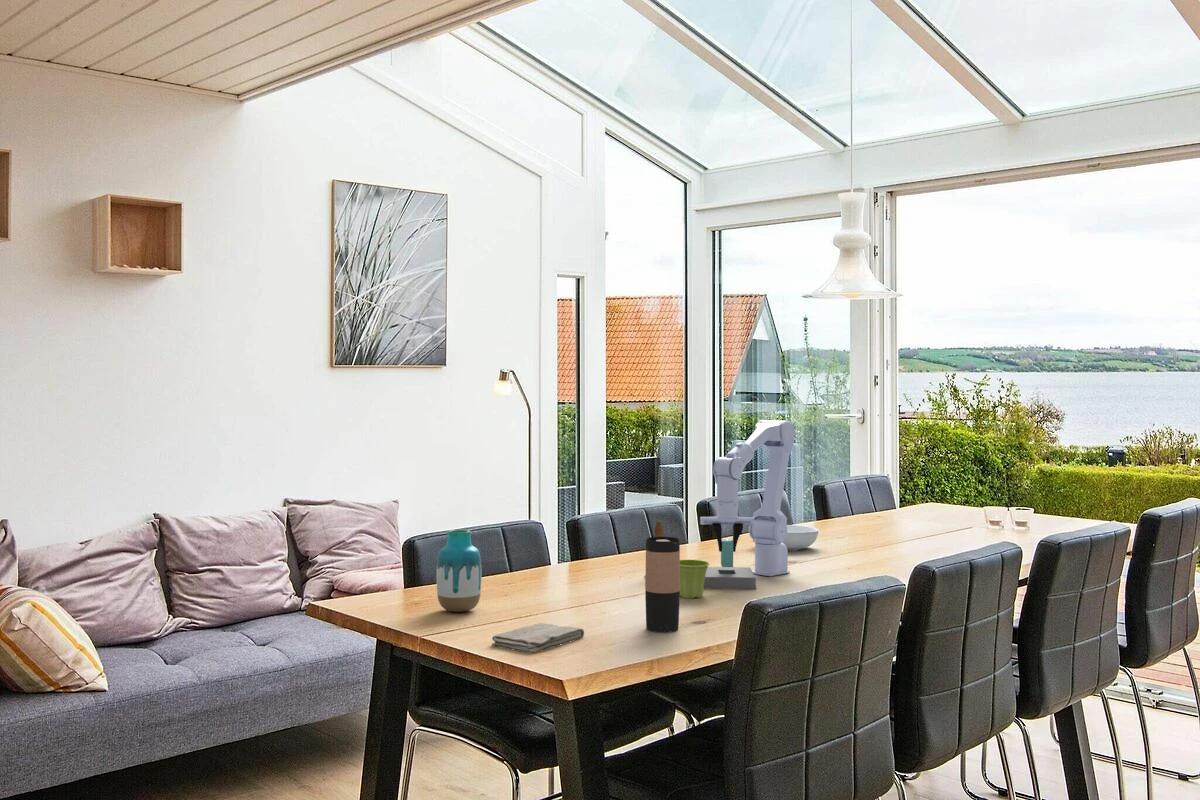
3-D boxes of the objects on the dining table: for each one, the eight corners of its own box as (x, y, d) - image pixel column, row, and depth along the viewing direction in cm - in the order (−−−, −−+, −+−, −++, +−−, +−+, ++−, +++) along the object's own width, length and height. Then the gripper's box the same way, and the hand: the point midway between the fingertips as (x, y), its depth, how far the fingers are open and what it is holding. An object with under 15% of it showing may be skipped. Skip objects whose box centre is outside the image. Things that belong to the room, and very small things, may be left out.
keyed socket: (699, 577, 306) (699, 566, 306) (749, 578, 305) (750, 567, 305) (702, 588, 290) (702, 576, 290) (755, 588, 289) (755, 577, 289)
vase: (462, 617, 252) (462, 535, 252) (427, 612, 258) (427, 531, 258) (490, 609, 261) (490, 530, 261) (455, 604, 267) (456, 526, 267)
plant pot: (712, 594, 282) (713, 560, 282) (704, 601, 273) (704, 566, 273) (677, 591, 285) (677, 558, 285) (668, 598, 276) (668, 564, 276)
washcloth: (488, 648, 226) (488, 633, 226) (541, 632, 241) (541, 618, 241) (533, 656, 219) (533, 641, 219) (585, 639, 234) (585, 625, 234)
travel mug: (643, 625, 246) (643, 536, 245) (676, 624, 246) (677, 536, 246) (647, 633, 238) (647, 541, 238) (682, 632, 239) (682, 541, 238)
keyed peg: (720, 563, 301) (720, 538, 301) (731, 564, 301) (731, 538, 300) (722, 567, 296) (722, 540, 296) (733, 567, 296) (733, 540, 295)
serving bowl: (823, 554, 350) (823, 532, 350) (758, 553, 350) (758, 532, 350) (812, 544, 371) (812, 524, 370) (750, 543, 371) (750, 523, 371)
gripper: (701, 502, 294) (701, 553, 294) (755, 503, 293) (755, 553, 293) (700, 499, 301) (699, 549, 301) (753, 500, 300) (752, 549, 300)
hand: (727, 551), depth 298 cm, fingers closed on keyed peg, 3 cm apart
